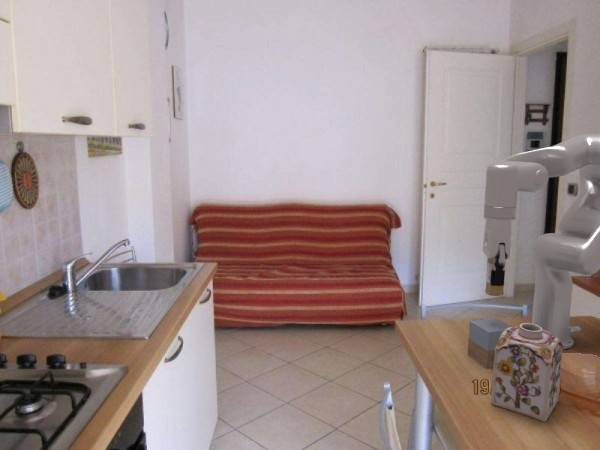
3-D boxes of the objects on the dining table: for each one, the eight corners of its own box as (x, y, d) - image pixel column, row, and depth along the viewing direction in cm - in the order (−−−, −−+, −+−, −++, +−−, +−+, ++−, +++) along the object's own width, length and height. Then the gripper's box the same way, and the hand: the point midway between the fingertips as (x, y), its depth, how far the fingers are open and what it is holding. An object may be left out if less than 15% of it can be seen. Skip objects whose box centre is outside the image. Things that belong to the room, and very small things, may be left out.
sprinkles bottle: (507, 294, 128) (510, 244, 126) (496, 298, 126) (499, 246, 123) (491, 290, 132) (495, 240, 130) (480, 293, 130) (484, 243, 127)
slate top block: (493, 335, 136) (495, 317, 135) (514, 346, 129) (515, 328, 128) (468, 338, 134) (469, 321, 133) (487, 350, 126) (489, 332, 126)
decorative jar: (506, 384, 119) (511, 313, 116) (559, 400, 112) (566, 324, 109) (489, 405, 110) (494, 328, 107) (545, 424, 103) (553, 342, 100)
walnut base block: (492, 352, 137) (493, 335, 136) (512, 364, 130) (513, 346, 129) (467, 356, 135) (468, 338, 134) (486, 369, 127) (487, 350, 126)
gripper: (478, 207, 134) (474, 272, 137) (490, 218, 118) (485, 291, 121) (507, 208, 133) (502, 274, 136) (524, 218, 116) (518, 293, 120)
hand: (494, 281), depth 128 cm, fingers closed on sprinkles bottle, 4 cm apart
